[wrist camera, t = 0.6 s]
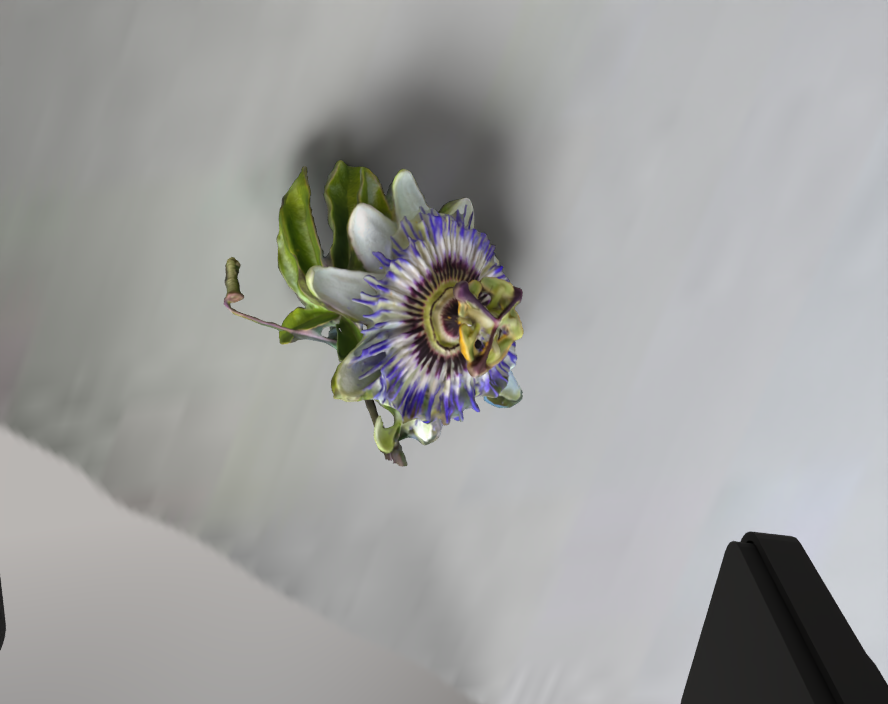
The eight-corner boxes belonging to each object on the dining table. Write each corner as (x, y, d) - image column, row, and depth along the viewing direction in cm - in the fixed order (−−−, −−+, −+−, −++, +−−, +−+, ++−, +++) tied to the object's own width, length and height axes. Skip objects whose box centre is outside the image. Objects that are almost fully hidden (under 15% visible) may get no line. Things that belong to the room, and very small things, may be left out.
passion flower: (476, 231, 44) (591, 403, 37) (299, 339, 45) (379, 529, 38) (393, 67, 35) (524, 254, 28) (171, 205, 35) (244, 423, 28)
